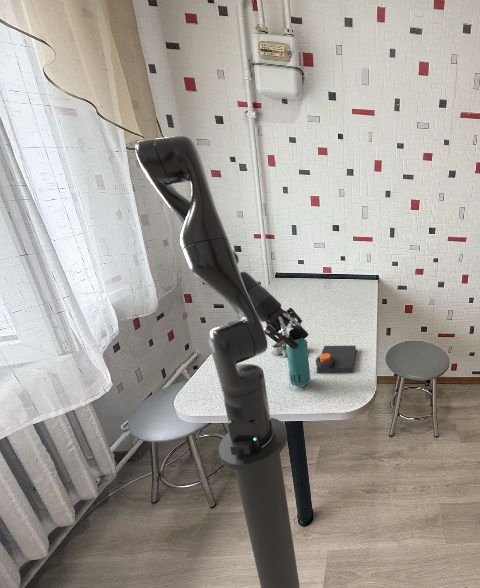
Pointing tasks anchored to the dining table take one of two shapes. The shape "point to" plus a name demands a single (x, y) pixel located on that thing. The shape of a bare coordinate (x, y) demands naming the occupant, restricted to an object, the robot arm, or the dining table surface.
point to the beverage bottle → (298, 359)
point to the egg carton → (280, 348)
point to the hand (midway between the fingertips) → (301, 341)
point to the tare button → (325, 358)
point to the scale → (337, 359)
